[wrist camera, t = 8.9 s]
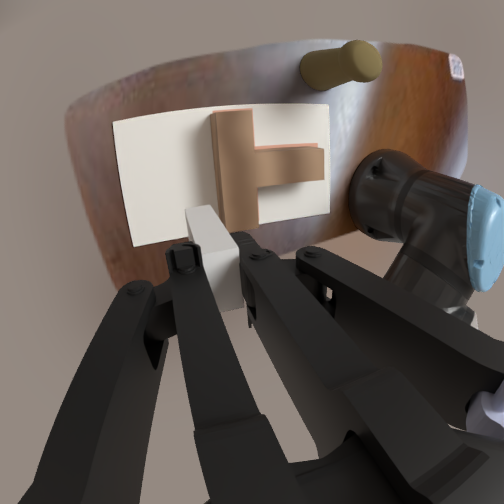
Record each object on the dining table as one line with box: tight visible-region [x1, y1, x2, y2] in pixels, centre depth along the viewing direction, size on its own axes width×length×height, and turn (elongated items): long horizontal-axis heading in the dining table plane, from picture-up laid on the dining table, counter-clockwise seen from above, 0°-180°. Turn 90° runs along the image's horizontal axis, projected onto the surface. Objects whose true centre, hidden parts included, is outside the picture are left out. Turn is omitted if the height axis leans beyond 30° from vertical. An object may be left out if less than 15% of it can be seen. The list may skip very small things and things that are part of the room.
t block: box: [210, 110, 324, 233], centre depth 35 cm, size 13×14×4 cm
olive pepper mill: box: [300, 40, 382, 91], centre depth 29 cm, size 6×6×11 cm
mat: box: [113, 104, 330, 247], centre depth 36 cm, size 28×16×1 cm, turn 94°
